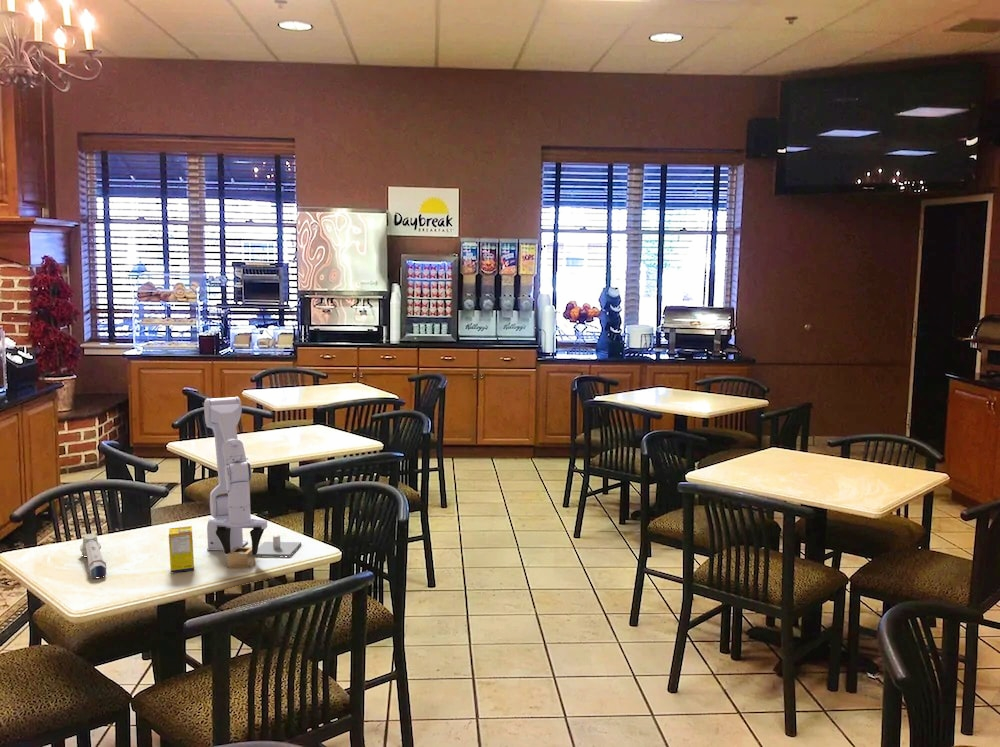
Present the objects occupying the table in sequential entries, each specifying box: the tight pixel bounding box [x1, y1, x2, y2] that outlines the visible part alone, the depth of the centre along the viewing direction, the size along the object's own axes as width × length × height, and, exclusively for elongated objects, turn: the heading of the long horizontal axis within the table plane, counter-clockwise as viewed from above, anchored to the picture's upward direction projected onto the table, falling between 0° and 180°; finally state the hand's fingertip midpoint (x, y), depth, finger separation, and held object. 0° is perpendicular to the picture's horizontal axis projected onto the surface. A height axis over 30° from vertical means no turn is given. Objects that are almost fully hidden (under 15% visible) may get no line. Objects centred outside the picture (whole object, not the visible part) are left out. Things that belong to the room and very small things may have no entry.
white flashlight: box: [79, 533, 107, 579], centre depth 231 cm, size 5×7×25 cm
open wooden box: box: [227, 546, 256, 569], centre depth 231 cm, size 6×6×4 cm
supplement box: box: [168, 525, 195, 573], centre depth 227 cm, size 6×6×11 cm
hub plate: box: [255, 534, 302, 558], centre depth 242 cm, size 11×11×4 cm
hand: (241, 553), depth 230 cm, fingers open, 7 cm apart
